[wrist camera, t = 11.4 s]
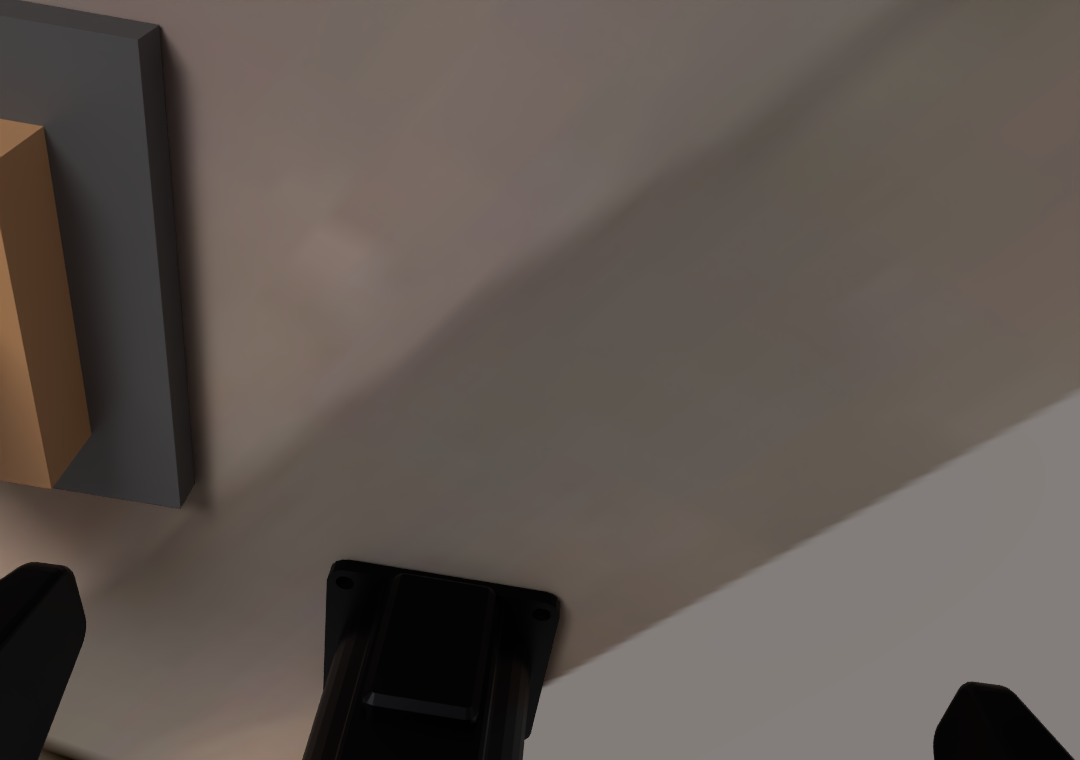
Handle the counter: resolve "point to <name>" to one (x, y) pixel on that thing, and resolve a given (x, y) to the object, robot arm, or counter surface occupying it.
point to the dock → (88, 261)
